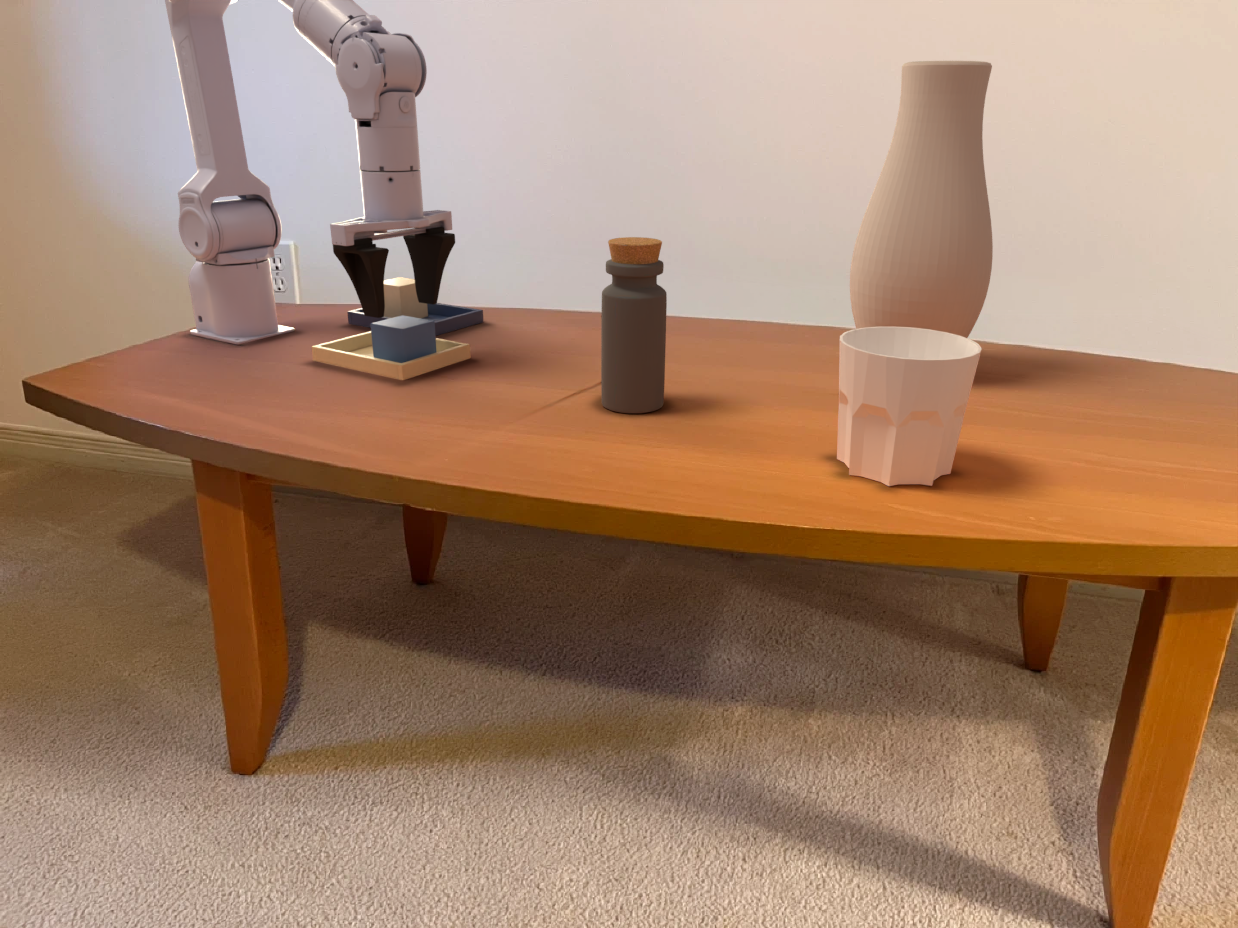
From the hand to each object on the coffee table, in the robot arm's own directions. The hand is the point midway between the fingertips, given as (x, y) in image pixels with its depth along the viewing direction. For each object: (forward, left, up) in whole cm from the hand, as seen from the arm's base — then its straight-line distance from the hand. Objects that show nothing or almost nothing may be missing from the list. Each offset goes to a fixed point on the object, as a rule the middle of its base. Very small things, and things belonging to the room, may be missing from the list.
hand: (401, 309), depth 92 cm
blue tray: (-13, +15, -6) cm, 21 cm away
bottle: (+26, +3, -6) cm, 27 cm away
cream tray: (-3, +1, -6) cm, 7 cm away
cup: (+51, +1, -6) cm, 51 cm away
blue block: (0, 0, -6) cm, 6 cm away
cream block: (-16, +16, -6) cm, 24 cm away
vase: (+44, +30, -6) cm, 54 cm away
